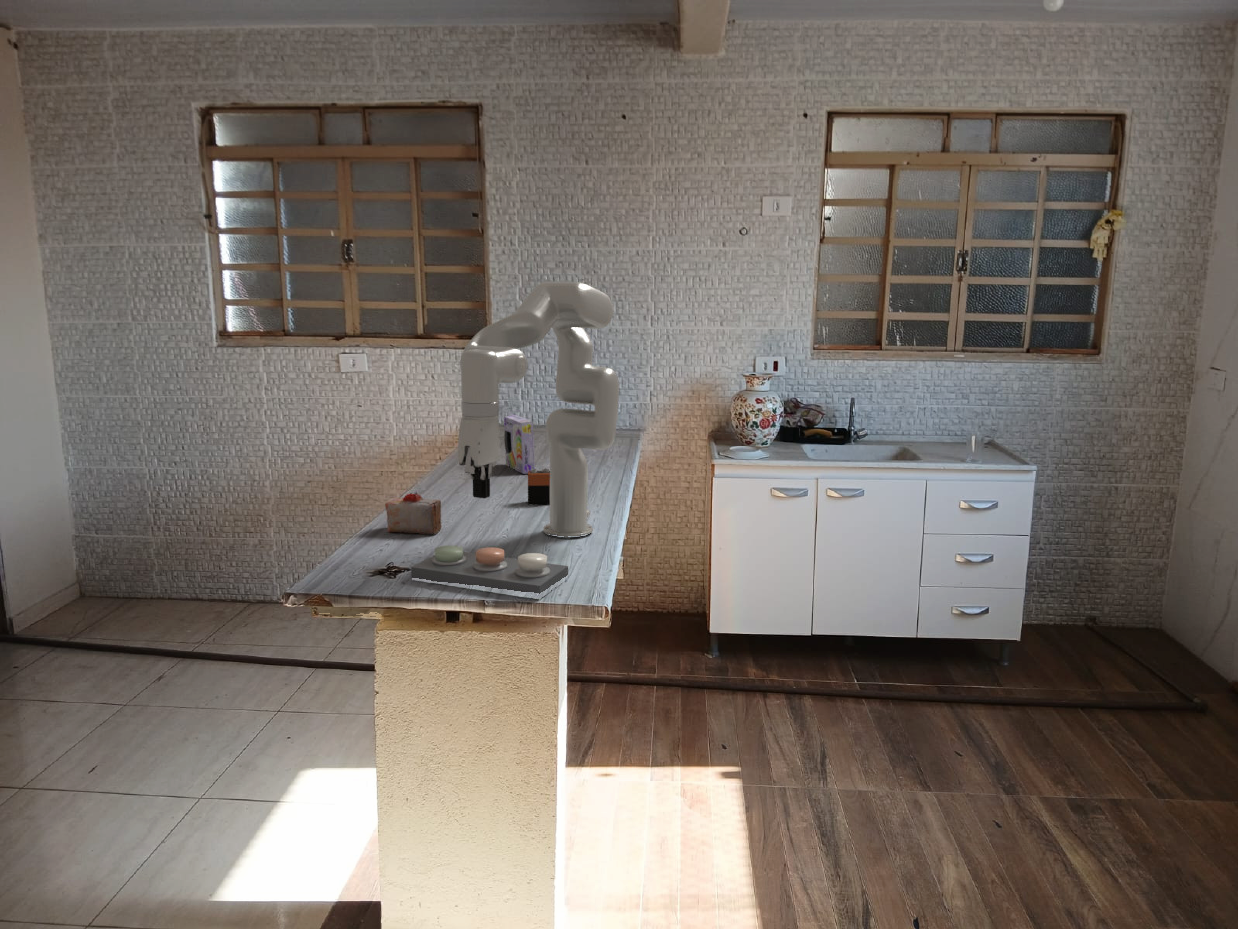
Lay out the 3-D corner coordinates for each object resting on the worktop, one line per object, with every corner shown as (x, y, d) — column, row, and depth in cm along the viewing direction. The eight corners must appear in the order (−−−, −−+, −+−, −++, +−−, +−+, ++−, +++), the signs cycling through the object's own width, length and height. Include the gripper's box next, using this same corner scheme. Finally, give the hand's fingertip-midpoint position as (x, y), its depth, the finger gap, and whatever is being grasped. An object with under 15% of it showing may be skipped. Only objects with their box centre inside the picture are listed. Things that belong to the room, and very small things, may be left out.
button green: (444, 552, 197) (444, 544, 197) (468, 555, 195) (468, 547, 195) (429, 559, 192) (429, 551, 191) (453, 563, 190) (453, 555, 189)
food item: (381, 534, 224) (380, 495, 222) (394, 525, 232) (392, 488, 230) (434, 537, 222) (433, 498, 220) (444, 528, 230) (444, 491, 228)
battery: (552, 504, 257) (552, 470, 255) (528, 505, 256) (528, 470, 254) (551, 501, 261) (551, 467, 259) (527, 501, 260) (527, 467, 258)
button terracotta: (484, 554, 194) (484, 546, 193) (509, 557, 192) (509, 549, 191) (470, 562, 188) (470, 553, 188) (495, 565, 186) (495, 557, 186)
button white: (526, 559, 190) (526, 551, 190) (551, 563, 188) (551, 555, 188) (513, 567, 185) (513, 559, 184) (539, 571, 183) (539, 563, 182)
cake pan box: (503, 464, 312) (502, 414, 308) (517, 463, 314) (516, 413, 310) (521, 475, 295) (520, 422, 291) (535, 474, 297) (535, 421, 293)
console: (446, 562, 202) (446, 547, 202) (568, 579, 192) (568, 563, 191) (411, 580, 190) (410, 564, 189) (539, 600, 179) (539, 583, 179)
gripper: (483, 404, 192) (484, 488, 196) (444, 413, 179) (446, 502, 183) (514, 407, 190) (514, 491, 193) (476, 416, 176) (477, 506, 180)
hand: (481, 496), depth 188 cm, fingers closed
